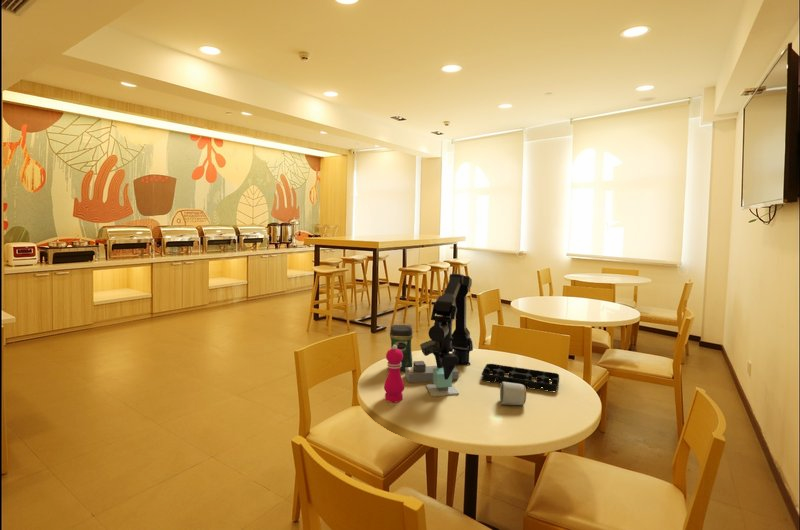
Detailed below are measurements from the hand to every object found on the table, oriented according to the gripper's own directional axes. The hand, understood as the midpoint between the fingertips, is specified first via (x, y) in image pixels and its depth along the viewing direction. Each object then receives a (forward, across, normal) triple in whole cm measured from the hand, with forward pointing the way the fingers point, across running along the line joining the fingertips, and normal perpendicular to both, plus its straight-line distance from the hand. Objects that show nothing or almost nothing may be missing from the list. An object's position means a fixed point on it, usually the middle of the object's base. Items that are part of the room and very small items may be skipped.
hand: (442, 374), depth 170 cm
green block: (+6, 0, 0) cm, 6 cm away
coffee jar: (+6, -24, -11) cm, 27 cm away
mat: (+6, 0, 0) cm, 6 cm away
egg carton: (+7, -4, +33) cm, 34 cm away
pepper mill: (+6, +4, -19) cm, 20 cm away
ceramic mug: (+7, +13, +22) cm, 26 cm away
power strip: (+6, -12, -1) cm, 14 cm away
